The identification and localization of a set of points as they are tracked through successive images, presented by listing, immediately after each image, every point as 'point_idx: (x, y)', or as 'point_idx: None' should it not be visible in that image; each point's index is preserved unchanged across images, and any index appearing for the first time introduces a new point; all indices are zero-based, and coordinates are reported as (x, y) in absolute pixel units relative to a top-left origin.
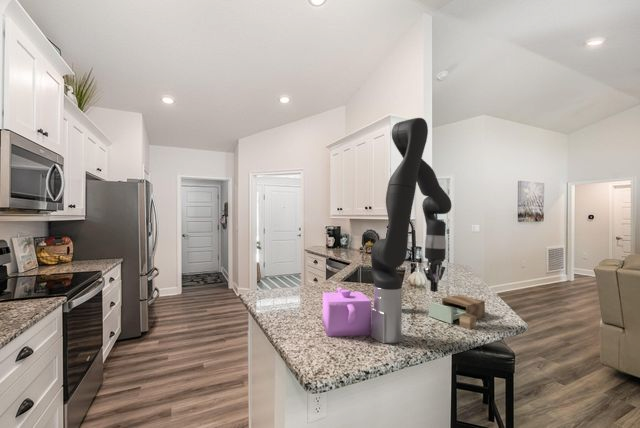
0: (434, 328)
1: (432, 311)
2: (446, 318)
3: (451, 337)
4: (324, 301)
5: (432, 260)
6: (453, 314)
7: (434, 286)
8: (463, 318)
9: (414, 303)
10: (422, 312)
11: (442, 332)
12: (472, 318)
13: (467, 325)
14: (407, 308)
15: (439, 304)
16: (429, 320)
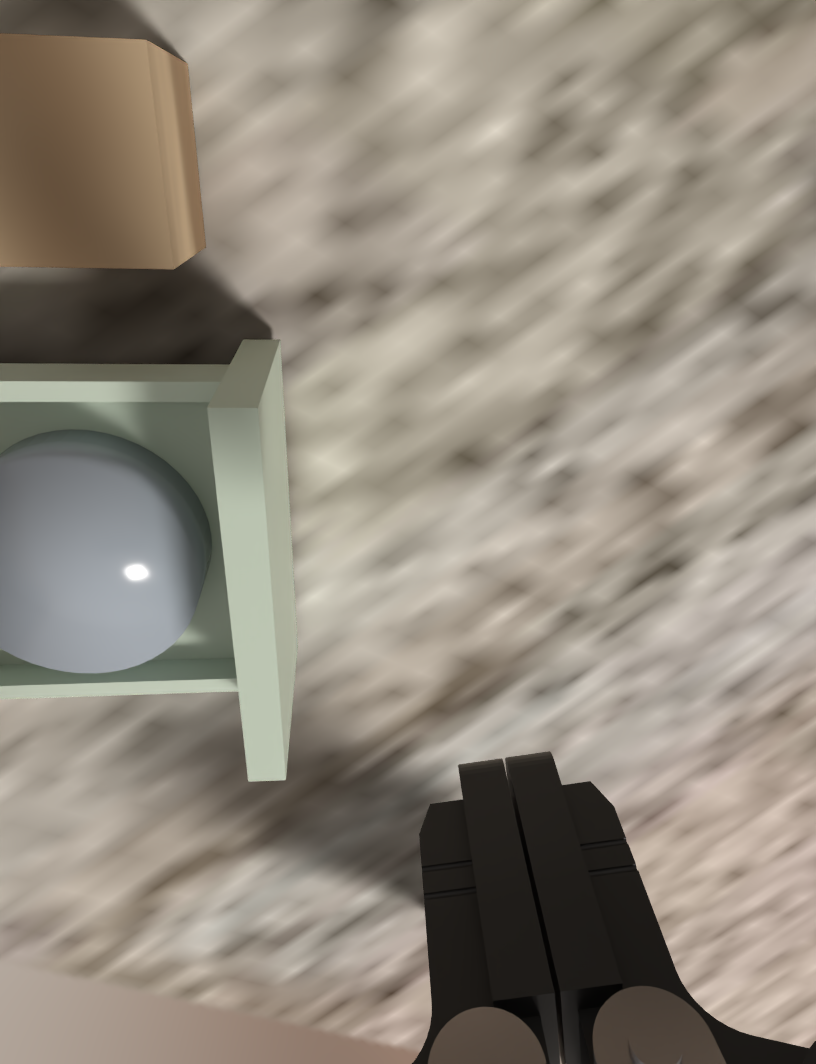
0: (589, 360)
1: (291, 642)
2: (281, 428)
3: (712, 20)
4: None
5: None
6: (103, 442)
7: (602, 879)
8: (171, 187)
9: (92, 940)
10: None
11: (635, 216)
12: (58, 37)
13: (182, 105)
14: (294, 870)
15: (258, 632)
16: (399, 558)
